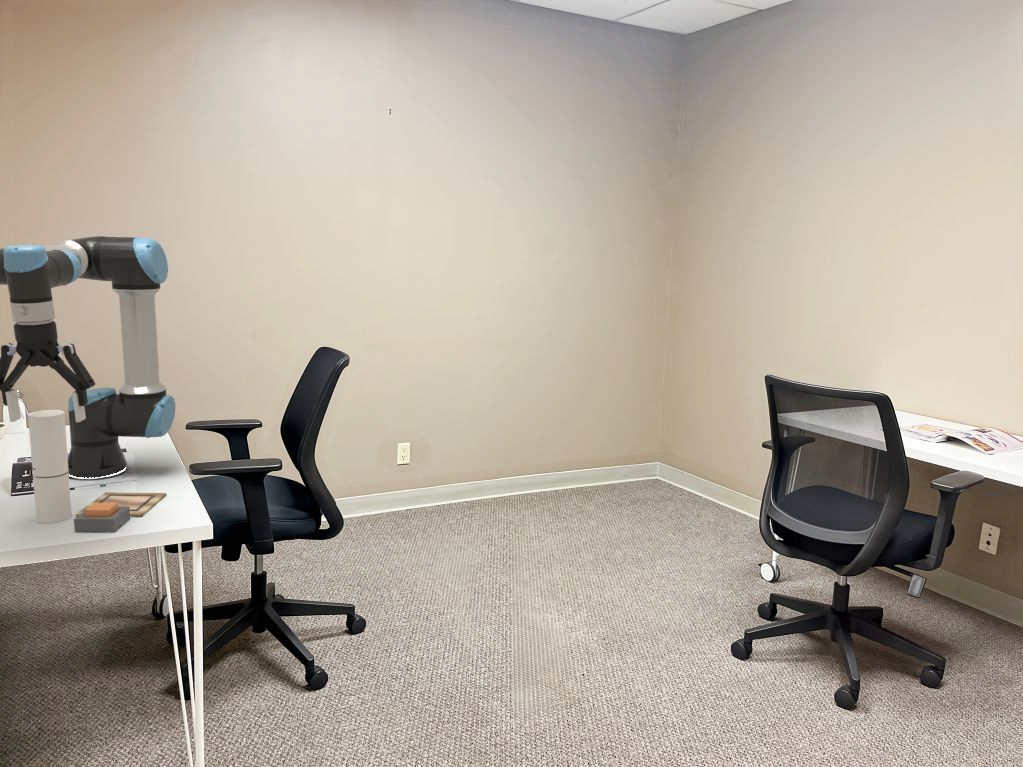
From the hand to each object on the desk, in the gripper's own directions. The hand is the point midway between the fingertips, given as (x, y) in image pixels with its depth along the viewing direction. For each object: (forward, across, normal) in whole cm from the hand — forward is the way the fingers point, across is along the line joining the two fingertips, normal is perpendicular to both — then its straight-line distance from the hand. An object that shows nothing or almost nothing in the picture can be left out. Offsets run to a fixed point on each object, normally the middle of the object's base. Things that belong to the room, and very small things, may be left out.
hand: (48, 420), depth 167 cm
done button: (+26, +6, +6) cm, 27 cm away
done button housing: (+27, +6, +6) cm, 28 cm away
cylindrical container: (+27, -8, +10) cm, 30 cm away
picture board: (+28, +4, +20) cm, 34 cm away
